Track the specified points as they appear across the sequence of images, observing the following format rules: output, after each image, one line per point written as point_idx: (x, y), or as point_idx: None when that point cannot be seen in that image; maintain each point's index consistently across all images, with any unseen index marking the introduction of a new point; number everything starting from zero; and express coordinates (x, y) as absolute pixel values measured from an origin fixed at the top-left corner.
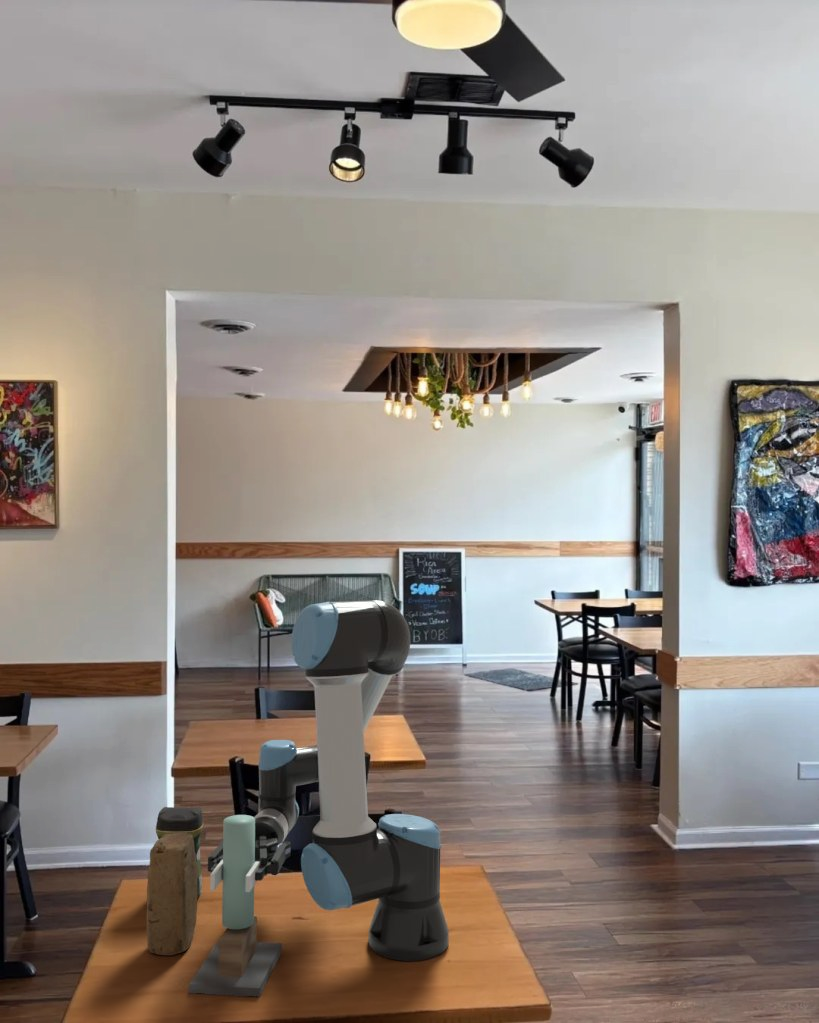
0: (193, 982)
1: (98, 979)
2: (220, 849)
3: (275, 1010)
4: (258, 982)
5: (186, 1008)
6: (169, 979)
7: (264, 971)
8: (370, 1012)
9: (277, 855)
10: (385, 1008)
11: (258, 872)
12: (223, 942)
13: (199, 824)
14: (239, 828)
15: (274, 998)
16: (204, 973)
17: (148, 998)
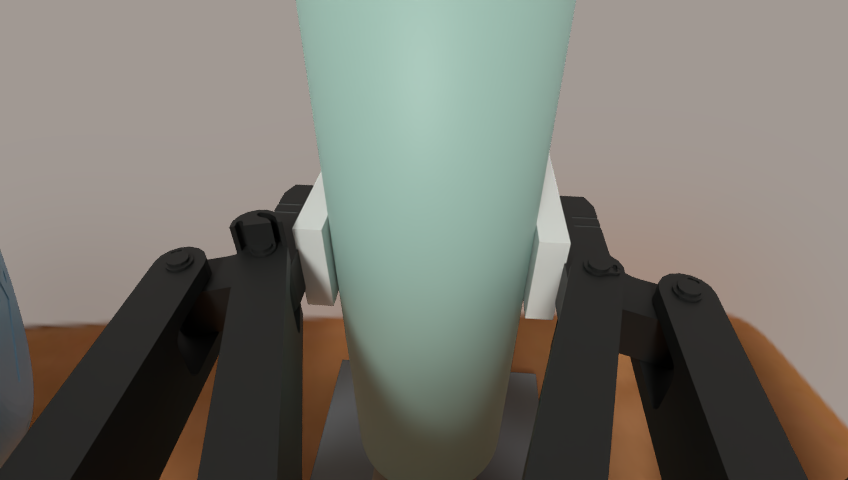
0: (528, 381)
1: (841, 452)
2: (733, 453)
3: (305, 329)
4: (346, 385)
5: None
6: (627, 457)
7: (330, 444)
8: (89, 326)
9: (126, 337)
10: (44, 340)
11: (307, 186)
12: None
13: None
14: None
15: (305, 372)
16: (516, 427)
17: (623, 366)
